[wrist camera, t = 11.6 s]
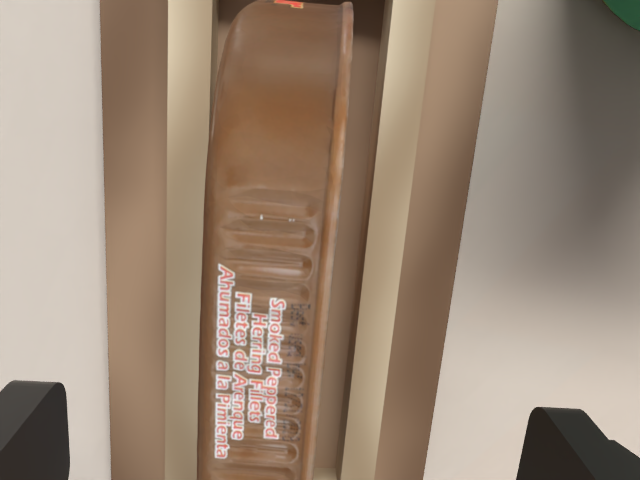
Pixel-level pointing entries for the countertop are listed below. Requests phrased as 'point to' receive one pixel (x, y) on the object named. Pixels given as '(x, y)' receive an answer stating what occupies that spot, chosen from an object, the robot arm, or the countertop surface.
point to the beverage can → (626, 11)
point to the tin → (271, 237)
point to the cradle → (352, 237)
